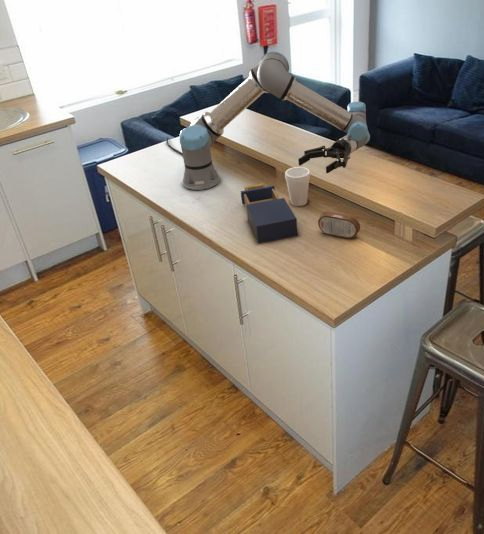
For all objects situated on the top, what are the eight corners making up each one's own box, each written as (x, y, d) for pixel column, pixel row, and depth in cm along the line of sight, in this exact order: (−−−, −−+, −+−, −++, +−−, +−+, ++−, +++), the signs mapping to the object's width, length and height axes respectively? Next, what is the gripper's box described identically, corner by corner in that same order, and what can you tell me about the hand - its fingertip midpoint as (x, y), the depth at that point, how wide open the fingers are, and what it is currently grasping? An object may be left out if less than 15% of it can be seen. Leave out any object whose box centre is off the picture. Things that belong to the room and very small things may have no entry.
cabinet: (248, 221, 212) (246, 204, 208) (285, 214, 215) (284, 197, 211) (258, 243, 199) (256, 226, 195) (297, 235, 201) (296, 218, 197)
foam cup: (308, 208, 217) (307, 178, 210) (285, 207, 219) (283, 177, 212) (312, 197, 225) (311, 167, 217) (289, 196, 227) (287, 166, 219)
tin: (360, 236, 198) (360, 216, 193) (357, 241, 196) (357, 220, 191) (320, 229, 204) (320, 209, 199) (317, 234, 202) (316, 213, 197)
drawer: (238, 196, 227) (237, 184, 224) (270, 190, 230) (269, 178, 226) (250, 221, 210) (249, 209, 207) (285, 215, 212) (284, 202, 209)
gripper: (368, 162, 230) (339, 182, 217) (319, 149, 243) (288, 167, 230) (369, 144, 225) (338, 164, 212) (319, 133, 239) (287, 150, 226)
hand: (312, 166), depth 221 cm, fingers open, 13 cm apart
